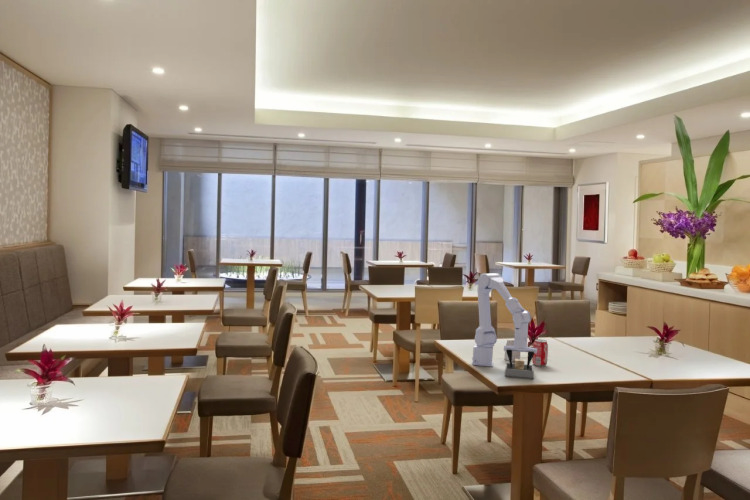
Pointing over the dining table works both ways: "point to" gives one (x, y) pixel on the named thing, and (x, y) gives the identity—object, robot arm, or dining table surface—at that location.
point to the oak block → (519, 364)
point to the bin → (519, 371)
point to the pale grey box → (514, 353)
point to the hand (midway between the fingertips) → (519, 367)
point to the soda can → (540, 352)
